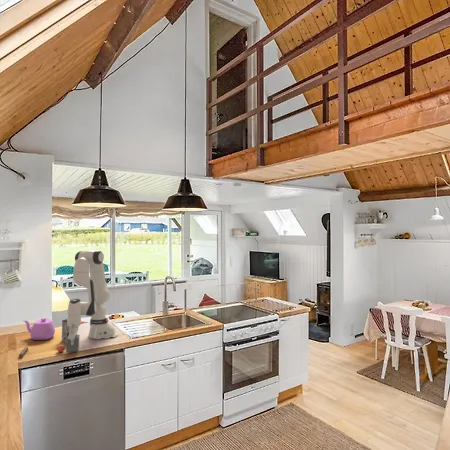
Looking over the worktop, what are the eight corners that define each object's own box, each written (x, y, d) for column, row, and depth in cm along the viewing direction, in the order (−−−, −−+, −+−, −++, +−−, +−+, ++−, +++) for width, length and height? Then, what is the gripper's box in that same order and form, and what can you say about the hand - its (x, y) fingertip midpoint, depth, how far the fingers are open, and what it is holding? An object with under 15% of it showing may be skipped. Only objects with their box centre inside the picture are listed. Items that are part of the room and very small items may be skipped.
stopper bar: (28, 350, 242) (28, 346, 242) (22, 357, 228) (22, 354, 228) (24, 350, 241) (25, 347, 241) (19, 358, 228) (19, 354, 228)
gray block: (78, 347, 248) (79, 334, 248) (77, 350, 241) (78, 338, 241) (67, 347, 246) (68, 335, 246) (66, 351, 239) (66, 338, 239)
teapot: (57, 332, 284) (58, 314, 284) (51, 340, 263) (52, 321, 263) (27, 333, 278) (27, 314, 278) (18, 342, 258) (19, 321, 258)
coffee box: (71, 338, 271) (72, 317, 272) (77, 339, 268) (77, 318, 268) (61, 341, 263) (62, 319, 264) (66, 342, 260) (67, 321, 260)
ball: (65, 350, 244) (65, 343, 244) (64, 353, 240) (64, 345, 240) (57, 351, 243) (57, 343, 243) (56, 353, 238) (56, 346, 238)
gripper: (77, 326, 235) (76, 347, 234) (80, 319, 254) (79, 337, 254) (66, 327, 233) (66, 347, 232) (70, 319, 252) (70, 338, 252)
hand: (73, 342), depth 243 cm, fingers closed on gray block, 7 cm apart
